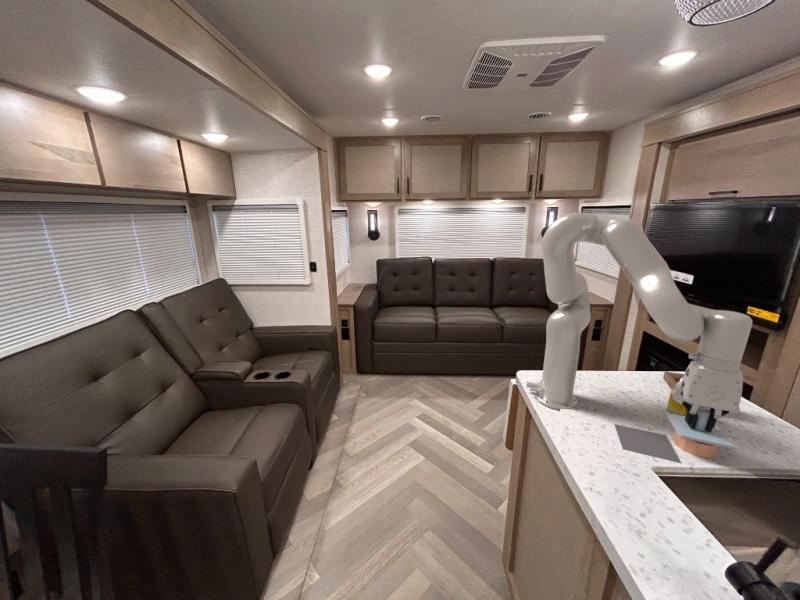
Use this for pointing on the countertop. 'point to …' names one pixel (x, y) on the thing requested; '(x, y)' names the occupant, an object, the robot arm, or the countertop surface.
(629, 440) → the mat
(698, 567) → the countertop surface
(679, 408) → the supplement bottle
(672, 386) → the garlic corral
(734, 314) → the robot arm
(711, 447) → the bowl
